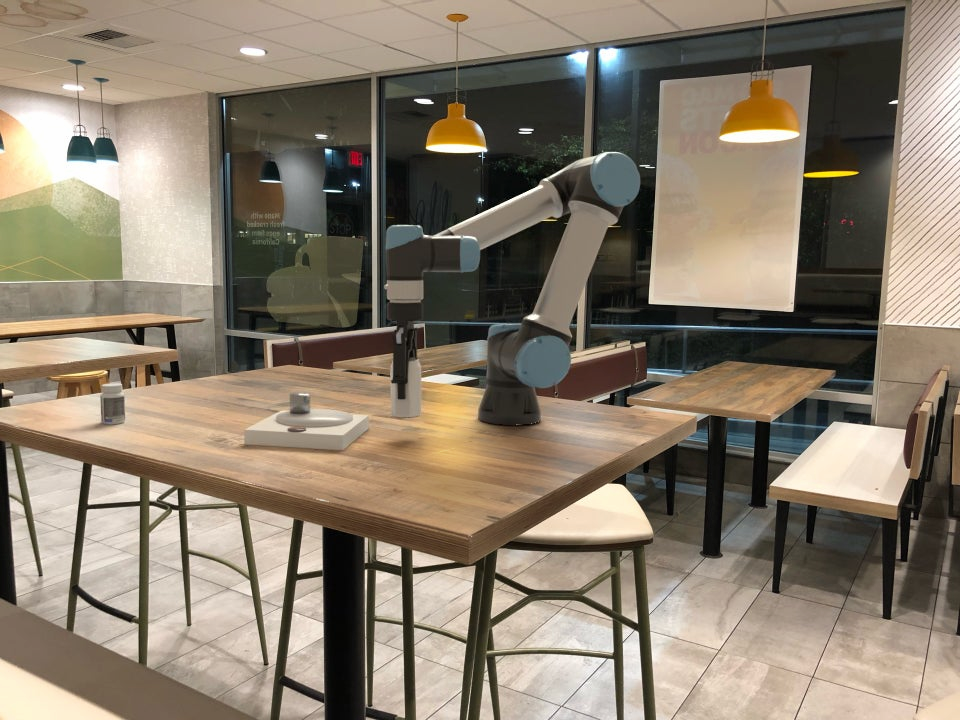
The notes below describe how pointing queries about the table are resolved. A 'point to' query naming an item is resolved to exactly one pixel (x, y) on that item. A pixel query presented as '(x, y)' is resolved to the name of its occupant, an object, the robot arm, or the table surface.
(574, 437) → the table surface
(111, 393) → the pill bottle
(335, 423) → the scale
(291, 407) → the cylinder
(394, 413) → the can
